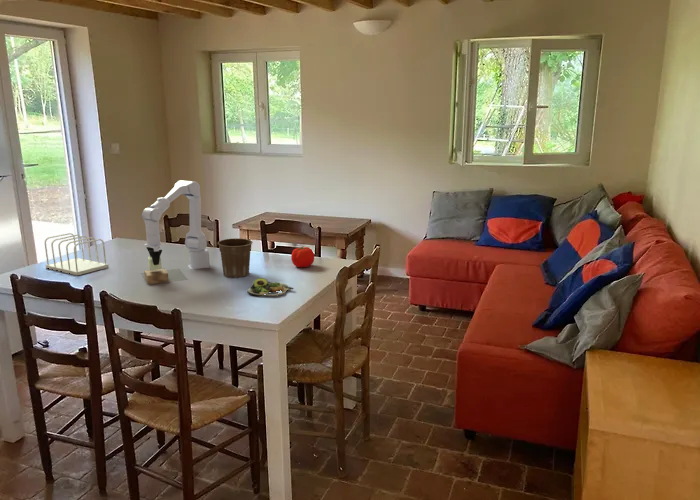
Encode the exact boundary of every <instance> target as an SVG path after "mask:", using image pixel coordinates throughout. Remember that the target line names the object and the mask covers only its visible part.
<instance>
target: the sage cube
mask: <svg viewBox="0 0 700 500" xmlns="http://www.w3.org/2000/svg"><path fill="white" fill-rule="evenodd" d="M147 265H148V267H147V268H148V270H158V269H163V268H162V259H161V257H160V260H159V265H154V264H153V260H152V257H150V256H148V257H147Z"/></svg>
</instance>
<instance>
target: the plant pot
mask: <svg viewBox="0 0 700 500" xmlns="http://www.w3.org/2000/svg"><path fill="white" fill-rule="evenodd" d="M217 245H218V248H219V252H220V259H221V267H222V273H223V276H224V277H226V278H230V279H231V278H237V279H238V278H244V277H247V276H249V275H250V261H251V251H252V245H253V240H251V239H247V238H240V237H239V238H237V237H236V238H225V239H222V240H221V239H220V240H219V241H218V242H217Z"/></svg>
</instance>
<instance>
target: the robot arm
mask: <svg viewBox="0 0 700 500" xmlns="http://www.w3.org/2000/svg"><path fill="white" fill-rule="evenodd" d="M173 186H174V187H173V188H171V190H170V191H168V193H167V194H166V195H165V196H164V197H157V199H156V200H155V202H154V203H153V204H151V205H150V206H149V207H146V208H144V209H143V211H142V214H141V218H142V219H143V222H144V225H145V233H146V234H145V235H146V243H144V247H145V248H146V250H147V252H148V254H149V257H152V260H153V264H154V265H159V260H160V258H161V254H162V252H163V249H160V248H161V246H162V243H161V236H160V235H161V234H160V221H161V218H162V215H163V213H165V211H167V209H169V208H170V206H171V203H172V202H173V201H174V200H176V199H177V198H178V197H180V195H183V196H185V197H186V198H187V199H188V202H189V203H188V205H189V206H188V207H189V231H188V232H187V233H185V239H184V240H185V241H184V246H185V247H186V248H187V251H188V257H189V264H188V265H187V267H188V268H189V269H190V270H199V269H207V268H211V266H210V253H209V249H208V248H207V245H208V241H207V237H206V234H205V233H204V232H203V230H202V206H201V205H202V199H201V198H202V196H201V185H200V183H198V182H197V181H196V180H195V181H194V180H192V181H191V180H182V179H180V180H177V182H176V183H174V185H173Z"/></svg>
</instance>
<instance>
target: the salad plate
mask: <svg viewBox="0 0 700 500" xmlns="http://www.w3.org/2000/svg"><path fill="white" fill-rule="evenodd" d="M294 289H295V288H294V287H291V286H289V285H288V284H286V283H282V282H277V281H275V282H270V281H269V280H268V279H267V278H264V277H258V278H256V279H255V280H253V282H252V285H251V286H250V287H249V288H248V289H247V290H246V291H247V292H246V293H247V294H248V295H249V296H252V295H253V296H252V297H260V296H276V297H278V296H277V295H281V296H283V295H285V294H286V293H285V292H286V291H287V290H288V291H290V290H294ZM280 290H281V291H282V293H279V294H278V293H269V292H276V291H280ZM288 291H287V292H288ZM267 293H269V294H267ZM284 293H285V294H284ZM264 294H266V295H264ZM282 294H283V295H282Z"/></svg>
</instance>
